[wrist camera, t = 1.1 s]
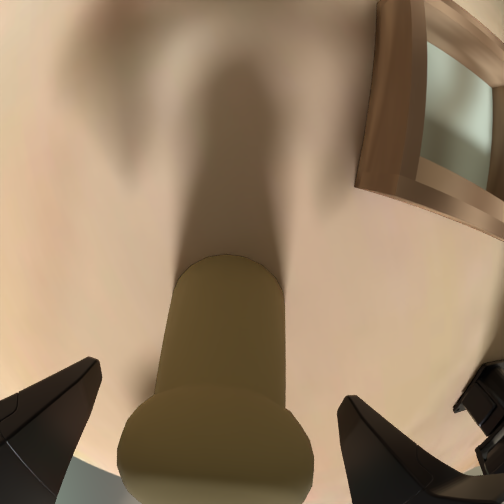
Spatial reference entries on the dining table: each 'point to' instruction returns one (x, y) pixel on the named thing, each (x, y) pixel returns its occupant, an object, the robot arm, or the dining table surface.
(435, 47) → the socket box
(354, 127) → the dining table surface
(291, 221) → the dining table surface
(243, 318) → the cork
